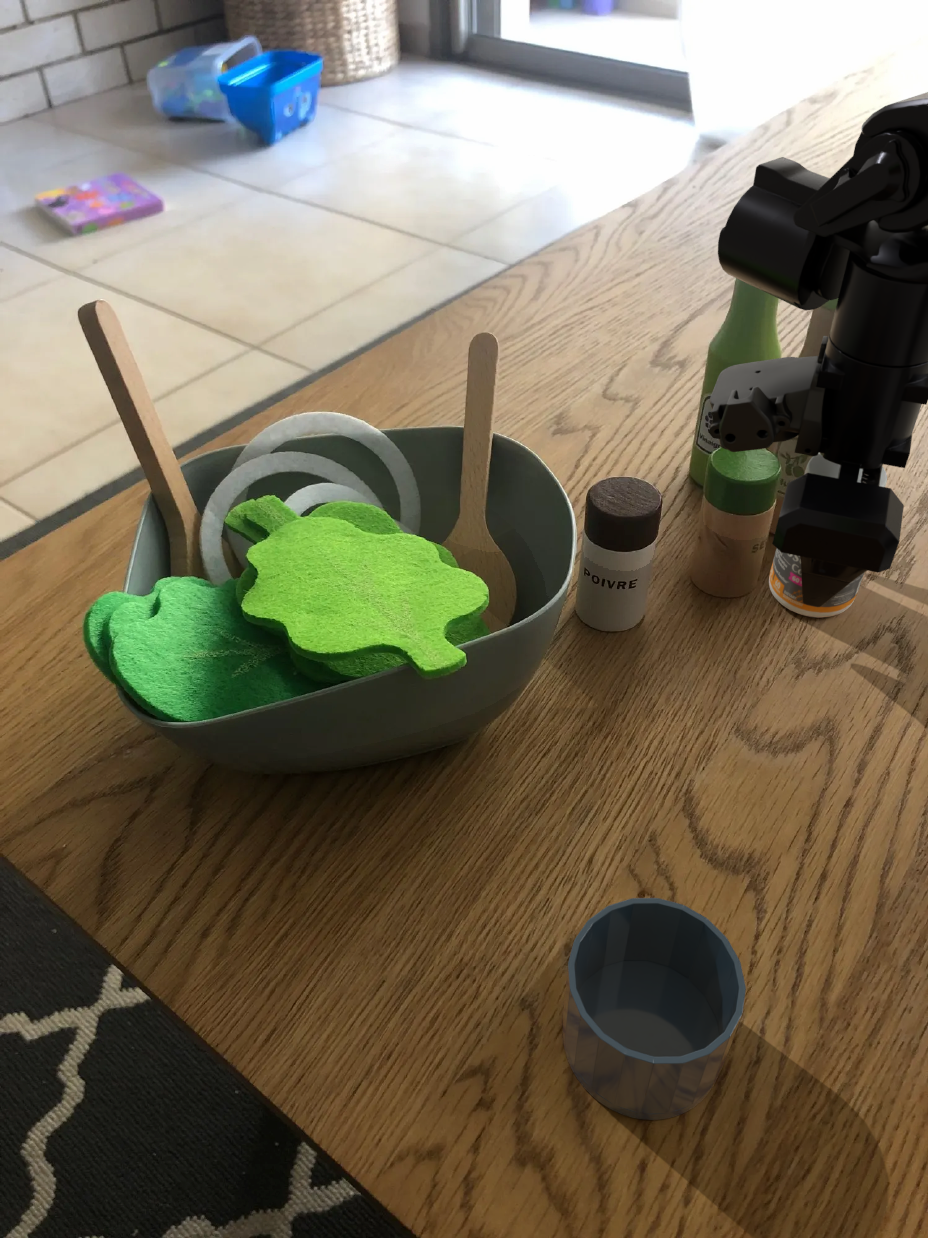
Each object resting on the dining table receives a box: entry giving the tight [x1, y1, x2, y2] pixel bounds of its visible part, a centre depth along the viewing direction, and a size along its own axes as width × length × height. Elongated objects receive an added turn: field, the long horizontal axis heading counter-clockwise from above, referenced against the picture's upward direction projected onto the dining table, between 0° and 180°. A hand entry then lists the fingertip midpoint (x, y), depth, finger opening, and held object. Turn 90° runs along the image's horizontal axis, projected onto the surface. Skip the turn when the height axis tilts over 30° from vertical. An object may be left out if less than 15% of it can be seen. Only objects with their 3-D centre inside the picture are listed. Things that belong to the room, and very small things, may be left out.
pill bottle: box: [768, 453, 888, 618], centre depth 64 cm, size 6×6×10 cm
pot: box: [562, 897, 747, 1121], centre depth 44 cm, size 7×7×6 cm
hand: (820, 559), depth 65 cm, fingers open, 9 cm apart
